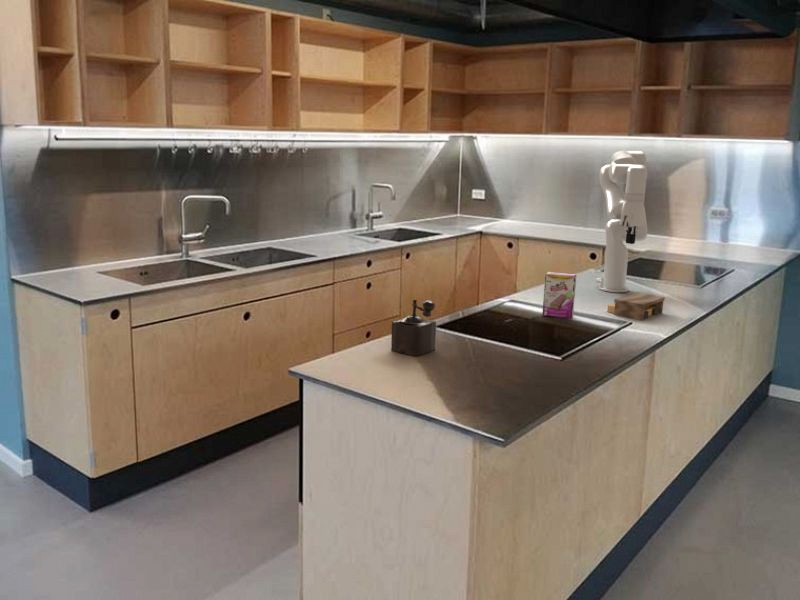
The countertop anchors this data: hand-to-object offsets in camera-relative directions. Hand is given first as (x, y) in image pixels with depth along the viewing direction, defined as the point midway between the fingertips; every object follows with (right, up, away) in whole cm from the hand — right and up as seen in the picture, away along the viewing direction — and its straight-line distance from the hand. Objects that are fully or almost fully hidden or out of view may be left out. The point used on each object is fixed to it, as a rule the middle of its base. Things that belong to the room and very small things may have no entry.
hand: (630, 243), depth 291 cm
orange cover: (-3, -28, -11) cm, 30 cm away
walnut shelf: (-2, -28, -13) cm, 31 cm away
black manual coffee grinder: (-87, -39, -66) cm, 116 cm away
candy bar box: (-33, -29, -19) cm, 48 cm away
